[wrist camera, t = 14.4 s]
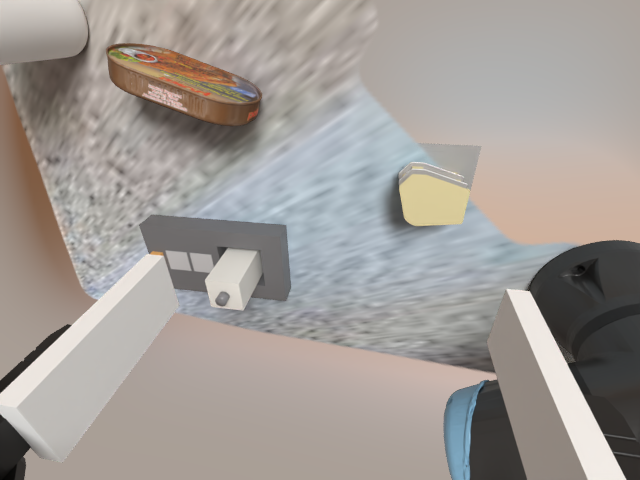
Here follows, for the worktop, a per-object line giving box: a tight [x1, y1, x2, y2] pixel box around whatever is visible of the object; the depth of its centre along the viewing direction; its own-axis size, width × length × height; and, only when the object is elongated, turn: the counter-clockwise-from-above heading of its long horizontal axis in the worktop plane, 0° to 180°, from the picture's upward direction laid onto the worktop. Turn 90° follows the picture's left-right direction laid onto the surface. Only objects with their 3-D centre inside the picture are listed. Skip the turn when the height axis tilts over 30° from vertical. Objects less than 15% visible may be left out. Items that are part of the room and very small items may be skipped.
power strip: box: [139, 215, 291, 301], centre depth 49 cm, size 20×11×4 cm, turn 91°
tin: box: [106, 43, 262, 126], centre depth 34 cm, size 15×3×8 cm, turn 72°
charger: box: [205, 247, 263, 311], centre depth 46 cm, size 4×4×10 cm
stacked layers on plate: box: [399, 143, 481, 226], centre depth 38 cm, size 10×9×6 cm
